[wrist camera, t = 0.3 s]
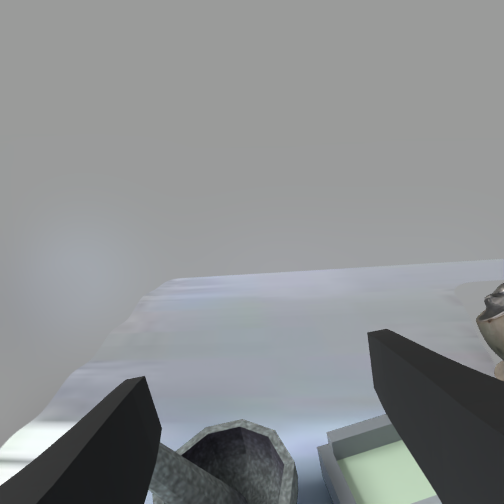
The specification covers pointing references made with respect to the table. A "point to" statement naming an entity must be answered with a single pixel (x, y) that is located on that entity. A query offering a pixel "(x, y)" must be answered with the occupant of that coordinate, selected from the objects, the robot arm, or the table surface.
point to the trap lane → (372, 466)
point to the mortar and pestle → (226, 468)
